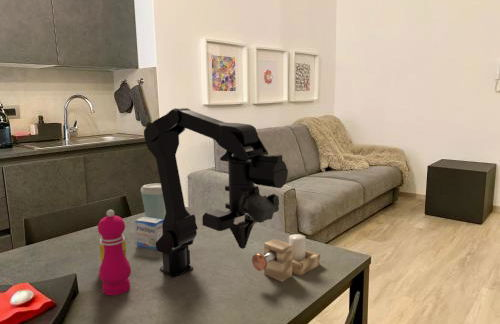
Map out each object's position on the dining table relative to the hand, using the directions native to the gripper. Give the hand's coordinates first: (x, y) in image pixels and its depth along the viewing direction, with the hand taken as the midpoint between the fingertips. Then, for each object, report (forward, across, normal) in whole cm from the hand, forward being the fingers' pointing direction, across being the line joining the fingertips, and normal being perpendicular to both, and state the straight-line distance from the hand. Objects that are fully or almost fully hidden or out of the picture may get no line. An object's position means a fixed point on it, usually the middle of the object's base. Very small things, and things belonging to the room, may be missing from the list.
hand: (242, 247), depth 89 cm
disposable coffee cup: (+12, +12, +56) cm, 58 cm away
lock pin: (+7, +9, 0) cm, 12 cm away
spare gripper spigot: (+11, +20, 0) cm, 23 cm away
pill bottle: (+12, -14, +35) cm, 40 cm away
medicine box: (+12, 0, +41) cm, 43 cm away
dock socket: (+11, +18, 0) cm, 21 cm away
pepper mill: (+12, -20, +24) cm, 33 cm away
